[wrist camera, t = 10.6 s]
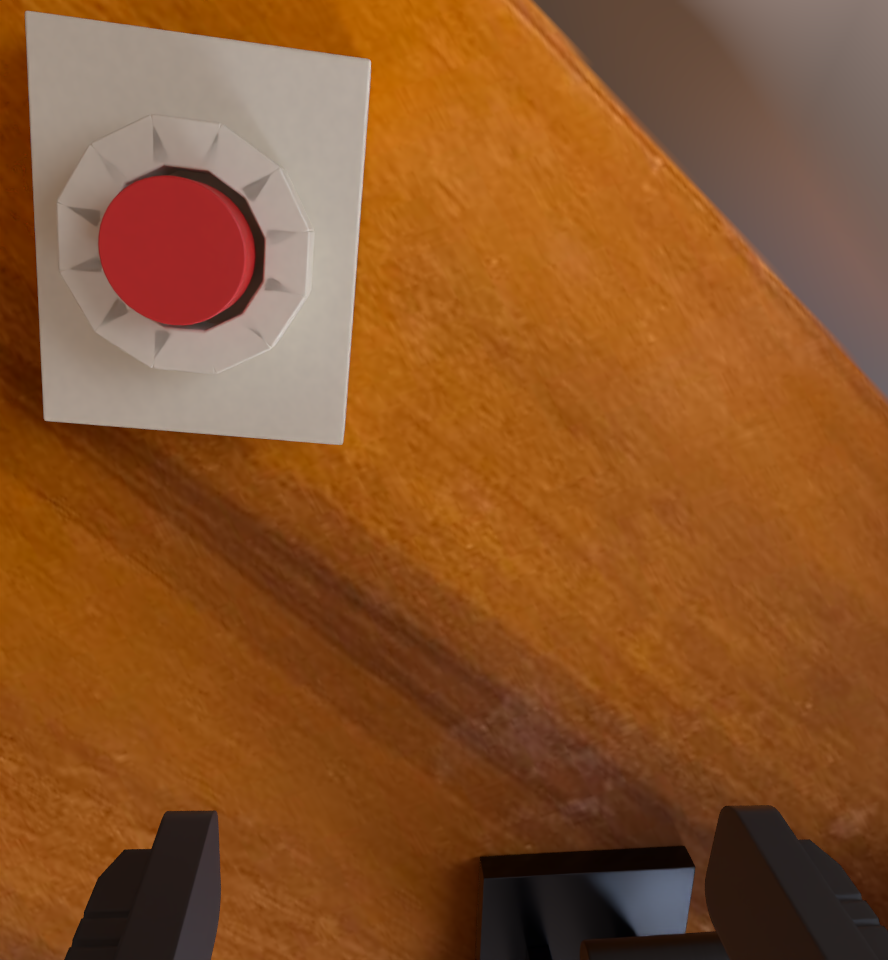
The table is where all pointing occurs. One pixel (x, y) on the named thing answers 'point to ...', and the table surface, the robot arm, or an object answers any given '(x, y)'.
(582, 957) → the lever
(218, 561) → the table surface
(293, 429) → the button box
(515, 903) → the bracket
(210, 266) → the button
